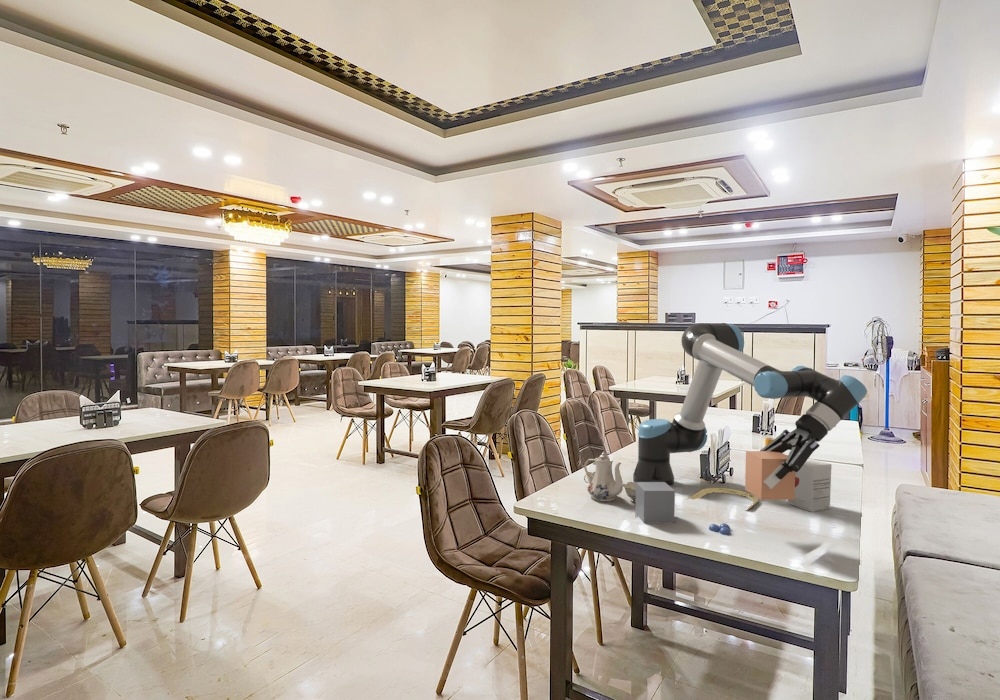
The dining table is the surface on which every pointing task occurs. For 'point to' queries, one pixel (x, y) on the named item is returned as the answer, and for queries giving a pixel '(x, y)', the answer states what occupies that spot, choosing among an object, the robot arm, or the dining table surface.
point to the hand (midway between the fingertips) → (757, 480)
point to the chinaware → (607, 480)
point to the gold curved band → (725, 492)
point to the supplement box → (812, 486)
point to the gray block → (655, 502)
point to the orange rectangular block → (760, 469)
